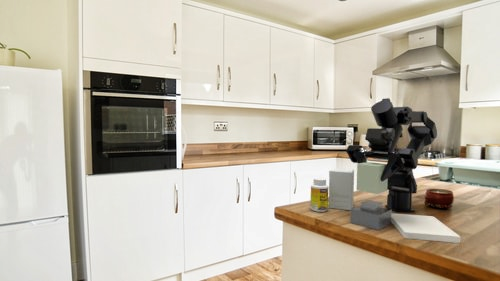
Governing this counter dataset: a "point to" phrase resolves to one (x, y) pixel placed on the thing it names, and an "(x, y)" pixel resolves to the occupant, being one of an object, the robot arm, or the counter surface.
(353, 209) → the dark grey block
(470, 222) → the counter surface
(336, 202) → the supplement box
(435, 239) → the cutting board
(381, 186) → the pale green block
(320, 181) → the supplement bottle
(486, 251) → the counter surface
